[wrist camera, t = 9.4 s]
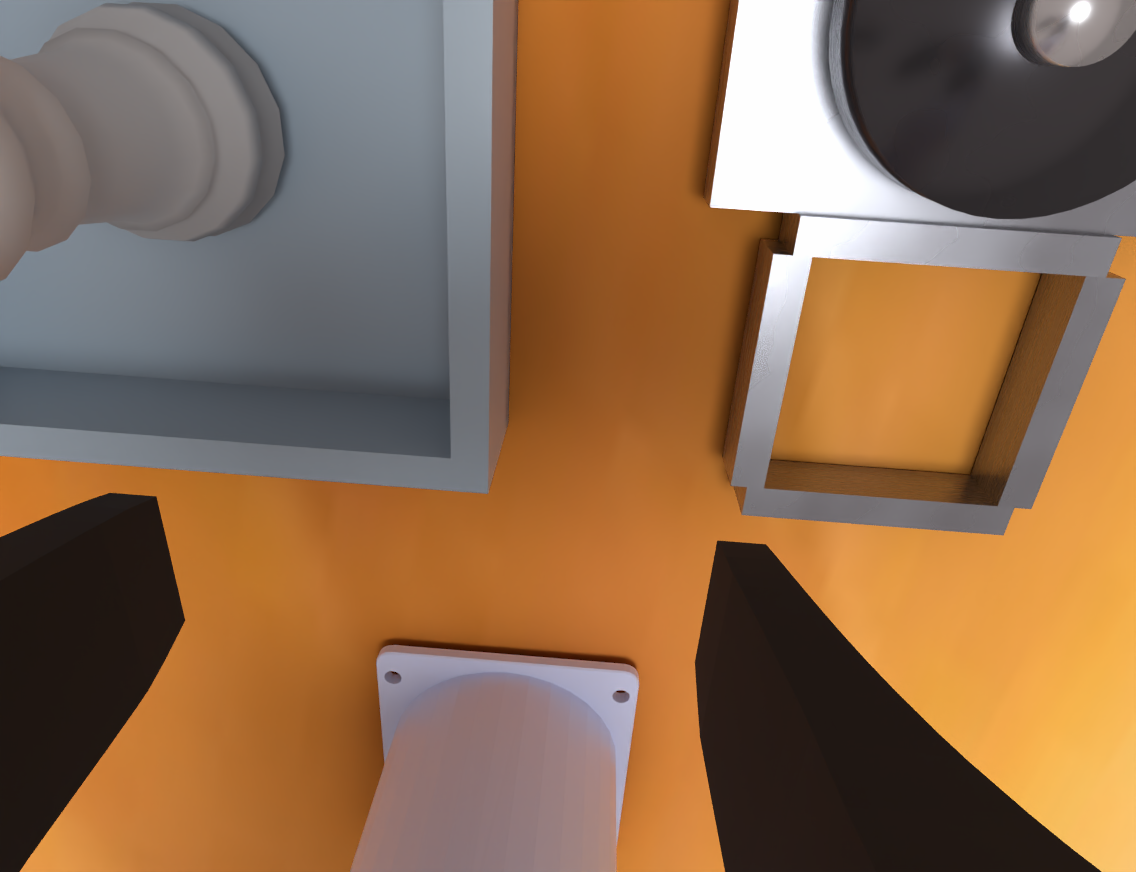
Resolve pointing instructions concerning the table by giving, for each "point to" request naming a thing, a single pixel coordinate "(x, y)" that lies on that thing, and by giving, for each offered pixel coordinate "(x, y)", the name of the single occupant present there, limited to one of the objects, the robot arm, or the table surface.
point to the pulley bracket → (927, 212)
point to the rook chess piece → (134, 131)
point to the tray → (298, 269)
